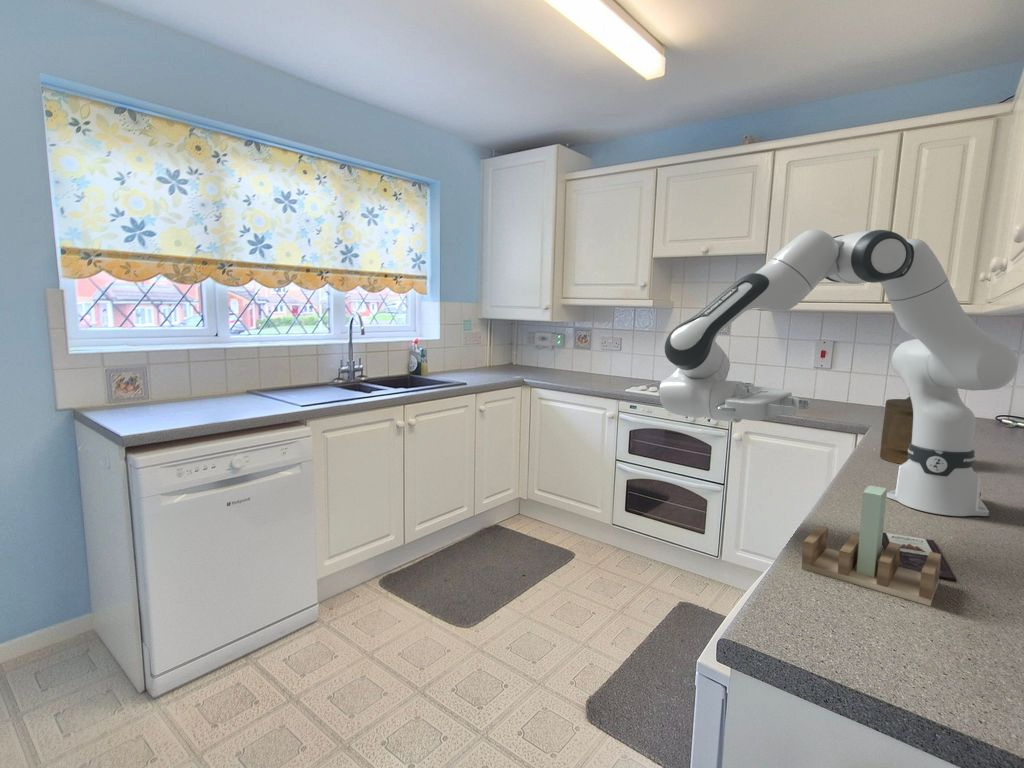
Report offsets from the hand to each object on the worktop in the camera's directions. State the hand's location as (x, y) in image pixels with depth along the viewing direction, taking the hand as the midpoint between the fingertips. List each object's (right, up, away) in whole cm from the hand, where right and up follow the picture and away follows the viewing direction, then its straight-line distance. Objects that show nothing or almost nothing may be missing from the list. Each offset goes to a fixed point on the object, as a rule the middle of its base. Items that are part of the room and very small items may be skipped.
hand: (802, 407), depth 106 cm
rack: (+4, -28, -14) cm, 32 cm away
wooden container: (+65, -19, +60) cm, 91 cm away
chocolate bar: (+17, -28, -6) cm, 33 cm away
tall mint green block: (+4, -27, -14) cm, 31 cm away
